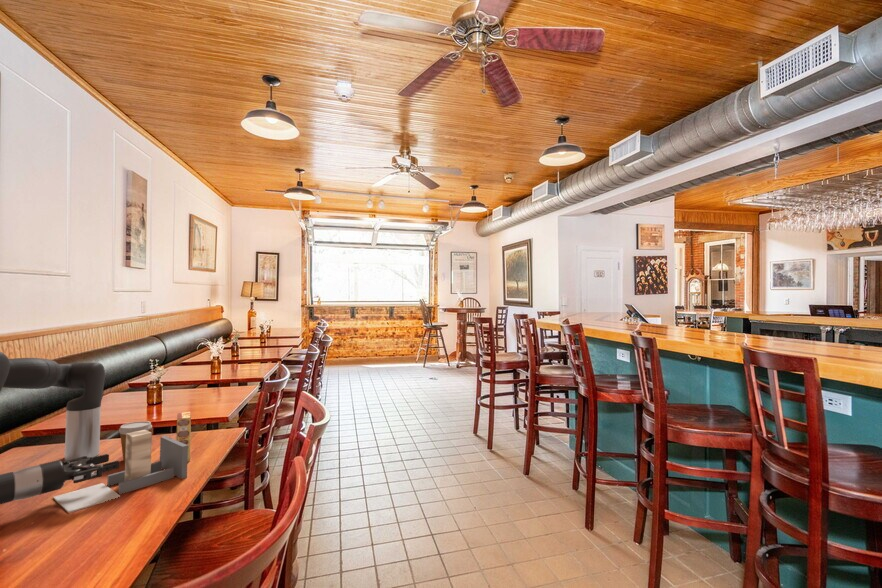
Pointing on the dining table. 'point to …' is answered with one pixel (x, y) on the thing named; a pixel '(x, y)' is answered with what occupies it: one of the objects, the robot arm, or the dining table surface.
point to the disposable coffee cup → (132, 428)
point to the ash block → (138, 454)
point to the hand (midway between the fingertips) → (113, 460)
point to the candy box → (184, 429)
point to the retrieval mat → (86, 497)
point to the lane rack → (157, 467)
